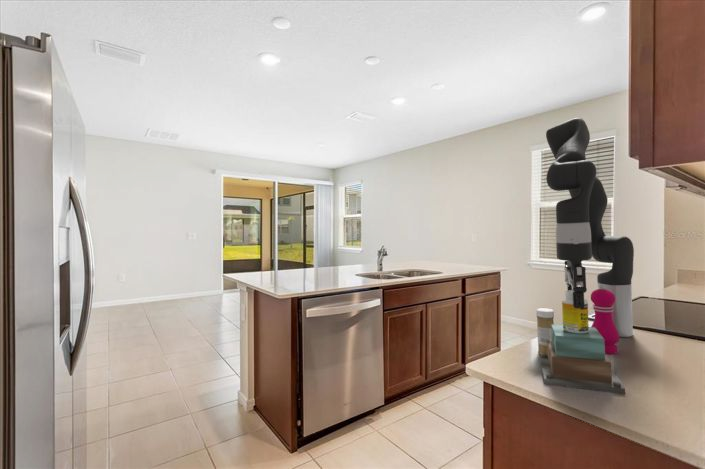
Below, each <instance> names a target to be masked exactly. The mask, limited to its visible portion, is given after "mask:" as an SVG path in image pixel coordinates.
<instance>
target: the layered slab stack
mask: <svg viewBox="0 0 705 469" xmlns="http://www.w3.org/2000/svg"><path fill="white" fill-rule="evenodd" d="M551 328H552V341H548V356H547V355H546V354H542V355H540V354H539V363H540V368H541V372H542V378H543V382H544V384H545V385H552V386H553V385H554V386H560V387H561V386H562V387H569V388H576V389H585V390H593V391H599V392H606V393H614V394H621V395H625V394H626V388H625V386H624V385H623V383H622V382H621V381H620V379H619V377H618V375H617V373H615V371H614V370H613V368H612V361H611V360H610V358H609V357H608V355H607V354H605V341H604V338H603V337H602V336H601V334H600V333H599V332H598V331H597V329H596V328H595V327H591V326H589V330H588V332H587V333H584V334H576V333H570V332H567V331H565V330H564V329H563V324H554V325H552V324H551Z"/></svg>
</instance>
